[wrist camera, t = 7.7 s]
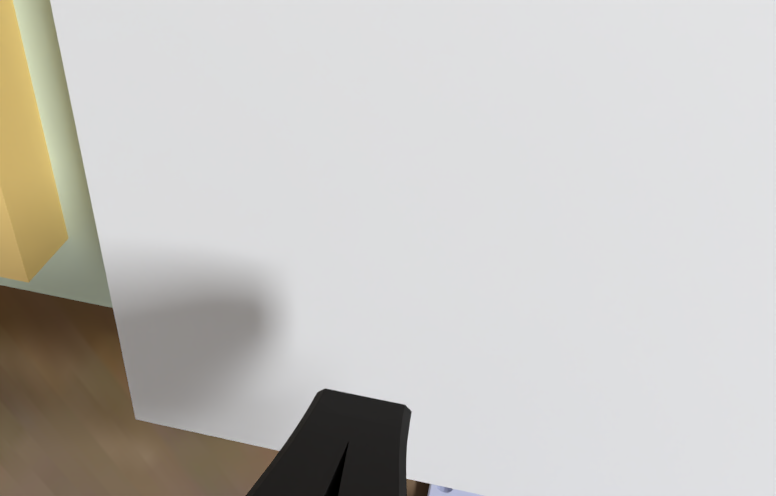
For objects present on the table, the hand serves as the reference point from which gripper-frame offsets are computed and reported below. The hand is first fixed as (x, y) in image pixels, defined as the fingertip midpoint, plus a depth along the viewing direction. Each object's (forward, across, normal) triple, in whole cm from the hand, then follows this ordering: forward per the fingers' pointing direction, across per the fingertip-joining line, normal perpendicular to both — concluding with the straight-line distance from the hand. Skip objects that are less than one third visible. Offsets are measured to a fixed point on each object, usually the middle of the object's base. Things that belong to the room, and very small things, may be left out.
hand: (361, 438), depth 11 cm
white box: (+8, -4, 0) cm, 9 cm away
